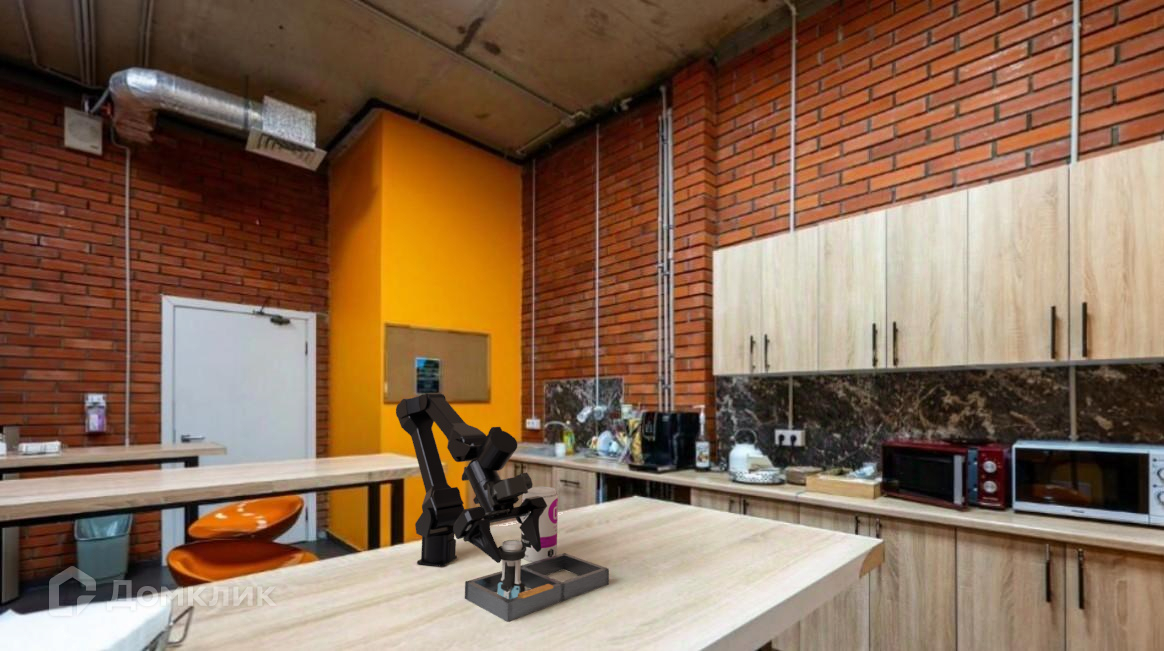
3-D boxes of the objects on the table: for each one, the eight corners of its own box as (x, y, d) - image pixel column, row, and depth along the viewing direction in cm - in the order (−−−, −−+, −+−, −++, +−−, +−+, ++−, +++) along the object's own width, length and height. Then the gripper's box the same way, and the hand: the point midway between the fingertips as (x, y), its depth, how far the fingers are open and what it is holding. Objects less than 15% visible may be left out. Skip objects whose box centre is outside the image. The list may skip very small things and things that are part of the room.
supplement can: (561, 553, 128) (563, 487, 129) (548, 564, 120) (550, 494, 121) (529, 549, 130) (531, 485, 132) (514, 560, 123) (516, 491, 124)
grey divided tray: (464, 598, 101) (465, 579, 102) (564, 567, 119) (564, 551, 119) (508, 622, 92) (508, 600, 92) (609, 584, 109) (609, 566, 110)
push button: (536, 598, 102) (537, 542, 103) (520, 608, 97) (522, 550, 98) (506, 591, 105) (508, 537, 106) (490, 600, 100) (491, 544, 101)
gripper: (464, 464, 100) (498, 540, 91) (542, 455, 113) (579, 521, 104) (439, 501, 105) (469, 577, 96) (517, 488, 118) (550, 554, 109)
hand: (520, 556), depth 101 cm, fingers open, 9 cm apart
